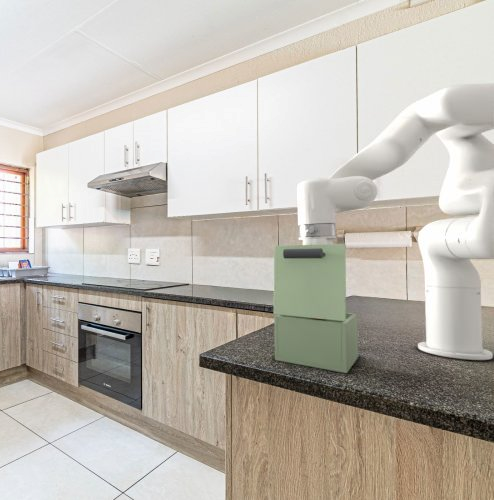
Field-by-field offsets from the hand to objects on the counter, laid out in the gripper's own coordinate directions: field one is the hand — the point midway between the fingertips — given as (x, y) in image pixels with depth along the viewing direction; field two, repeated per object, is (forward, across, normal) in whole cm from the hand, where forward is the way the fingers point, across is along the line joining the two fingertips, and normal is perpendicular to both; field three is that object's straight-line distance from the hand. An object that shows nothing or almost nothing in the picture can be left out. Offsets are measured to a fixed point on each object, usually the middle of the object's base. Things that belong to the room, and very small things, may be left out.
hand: (319, 310), depth 80 cm
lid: (-7, -8, 0) cm, 11 cm away
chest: (+11, -2, 0) cm, 11 cm away
